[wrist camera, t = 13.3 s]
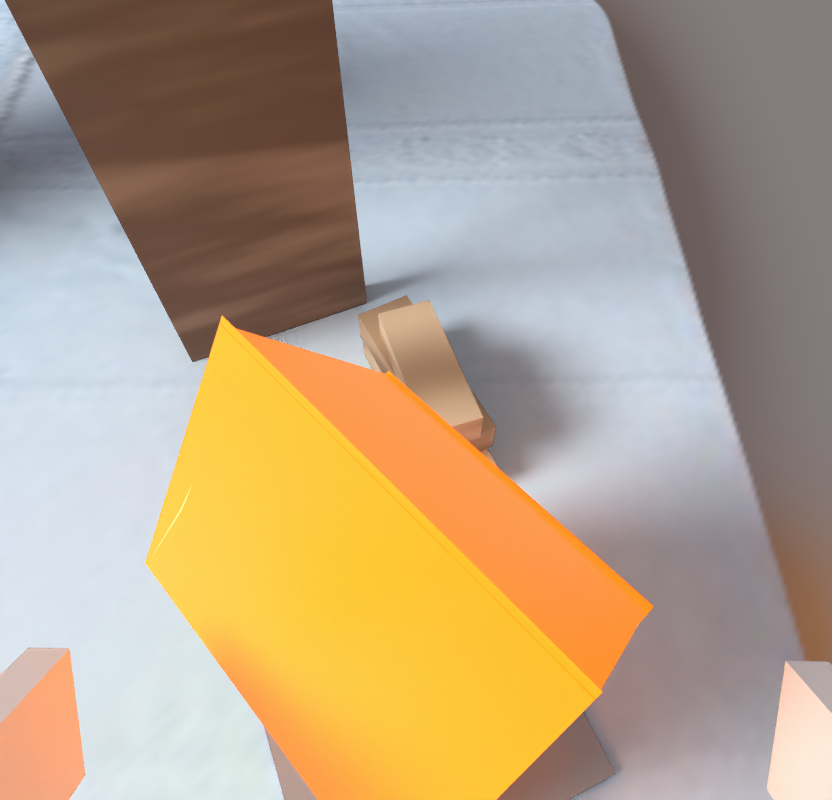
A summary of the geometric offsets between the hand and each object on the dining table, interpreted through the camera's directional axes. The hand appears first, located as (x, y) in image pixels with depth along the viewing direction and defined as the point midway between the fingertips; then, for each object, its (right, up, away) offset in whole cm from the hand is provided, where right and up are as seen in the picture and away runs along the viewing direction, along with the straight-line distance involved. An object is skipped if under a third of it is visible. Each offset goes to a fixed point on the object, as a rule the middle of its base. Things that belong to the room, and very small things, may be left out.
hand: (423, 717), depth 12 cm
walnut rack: (-5, +7, +24) cm, 25 cm away
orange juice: (0, -6, +15) cm, 16 cm away
